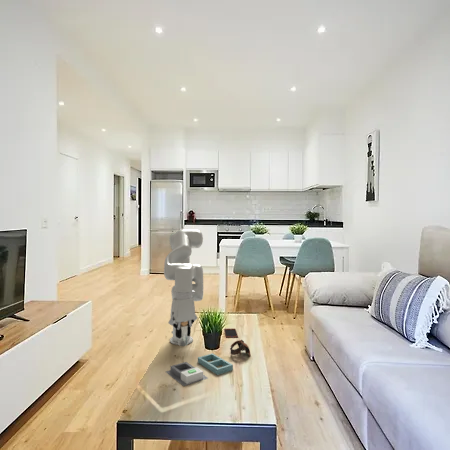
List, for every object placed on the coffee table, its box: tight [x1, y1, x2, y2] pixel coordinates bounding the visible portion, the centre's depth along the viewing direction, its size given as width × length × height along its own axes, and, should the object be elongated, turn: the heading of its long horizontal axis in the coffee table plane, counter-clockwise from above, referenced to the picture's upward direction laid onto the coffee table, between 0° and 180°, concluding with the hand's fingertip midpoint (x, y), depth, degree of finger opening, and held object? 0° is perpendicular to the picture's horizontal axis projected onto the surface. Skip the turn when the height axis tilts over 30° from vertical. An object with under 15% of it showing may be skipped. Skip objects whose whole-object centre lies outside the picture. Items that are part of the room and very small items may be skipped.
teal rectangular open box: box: [197, 352, 234, 376], centre depth 160 cm, size 16×8×4 cm, turn 37°
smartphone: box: [223, 328, 239, 339], centre depth 207 cm, size 7×1×15 cm
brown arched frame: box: [229, 339, 251, 358], centre depth 176 cm, size 12×10×8 cm
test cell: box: [177, 321, 188, 347], centre depth 153 cm, size 4×4×12 cm
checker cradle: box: [165, 361, 209, 387], centre depth 151 cm, size 16×12×5 cm
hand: (183, 336), depth 153 cm, fingers closed on test cell, 4 cm apart
